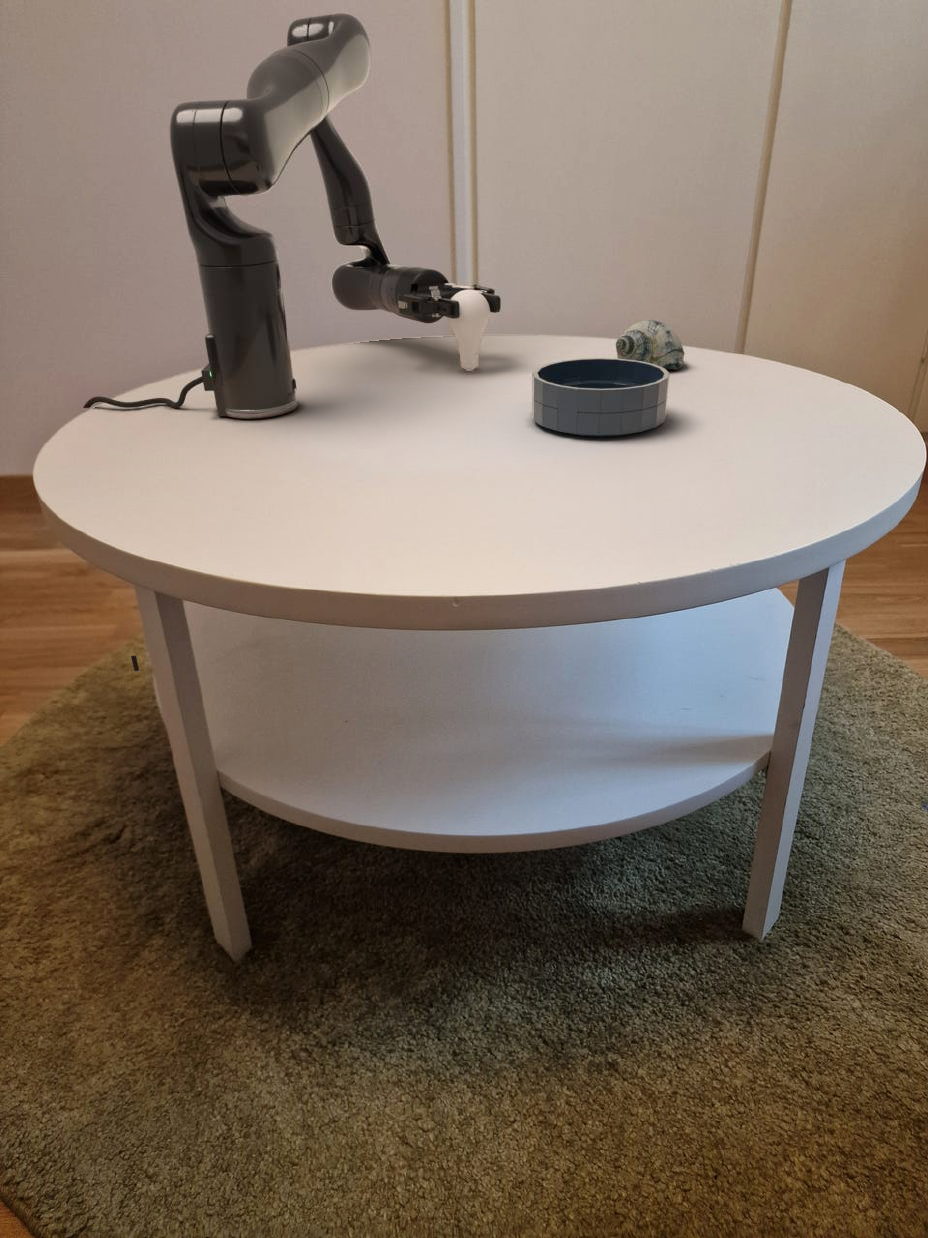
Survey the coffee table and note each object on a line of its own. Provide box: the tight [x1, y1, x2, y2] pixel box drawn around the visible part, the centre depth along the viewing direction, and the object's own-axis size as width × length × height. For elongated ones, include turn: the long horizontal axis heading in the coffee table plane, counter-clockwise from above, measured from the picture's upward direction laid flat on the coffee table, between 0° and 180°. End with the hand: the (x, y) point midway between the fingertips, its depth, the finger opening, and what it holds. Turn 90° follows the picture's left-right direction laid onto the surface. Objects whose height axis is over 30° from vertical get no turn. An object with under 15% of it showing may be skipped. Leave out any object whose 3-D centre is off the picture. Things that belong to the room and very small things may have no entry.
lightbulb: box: [446, 290, 491, 372], centre depth 119 cm, size 6×6×11 cm
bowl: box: [531, 357, 671, 438], centre depth 97 cm, size 15×15×6 cm
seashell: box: [615, 319, 686, 371], centre depth 119 cm, size 6×8×12 cm
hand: (478, 307), depth 116 cm, fingers closed on lightbulb, 6 cm apart
